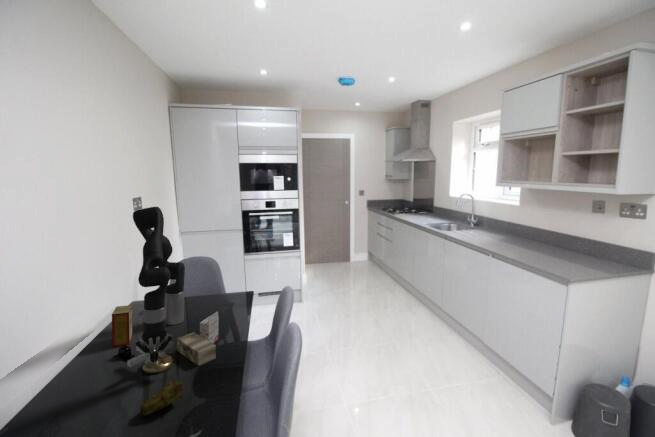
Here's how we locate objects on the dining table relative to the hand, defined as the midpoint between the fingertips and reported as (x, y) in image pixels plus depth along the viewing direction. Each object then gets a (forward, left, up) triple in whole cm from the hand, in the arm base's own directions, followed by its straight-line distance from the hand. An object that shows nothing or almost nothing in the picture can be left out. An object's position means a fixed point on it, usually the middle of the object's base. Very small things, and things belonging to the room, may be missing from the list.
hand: (154, 361), depth 118 cm
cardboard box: (-3, +19, -7) cm, 21 cm away
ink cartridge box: (-8, +29, -7) cm, 31 cm away
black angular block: (-24, -2, -8) cm, 25 cm away
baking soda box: (-39, +3, -7) cm, 40 cm away
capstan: (-6, +2, -7) cm, 9 cm away
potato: (+19, -5, -7) cm, 21 cm away
